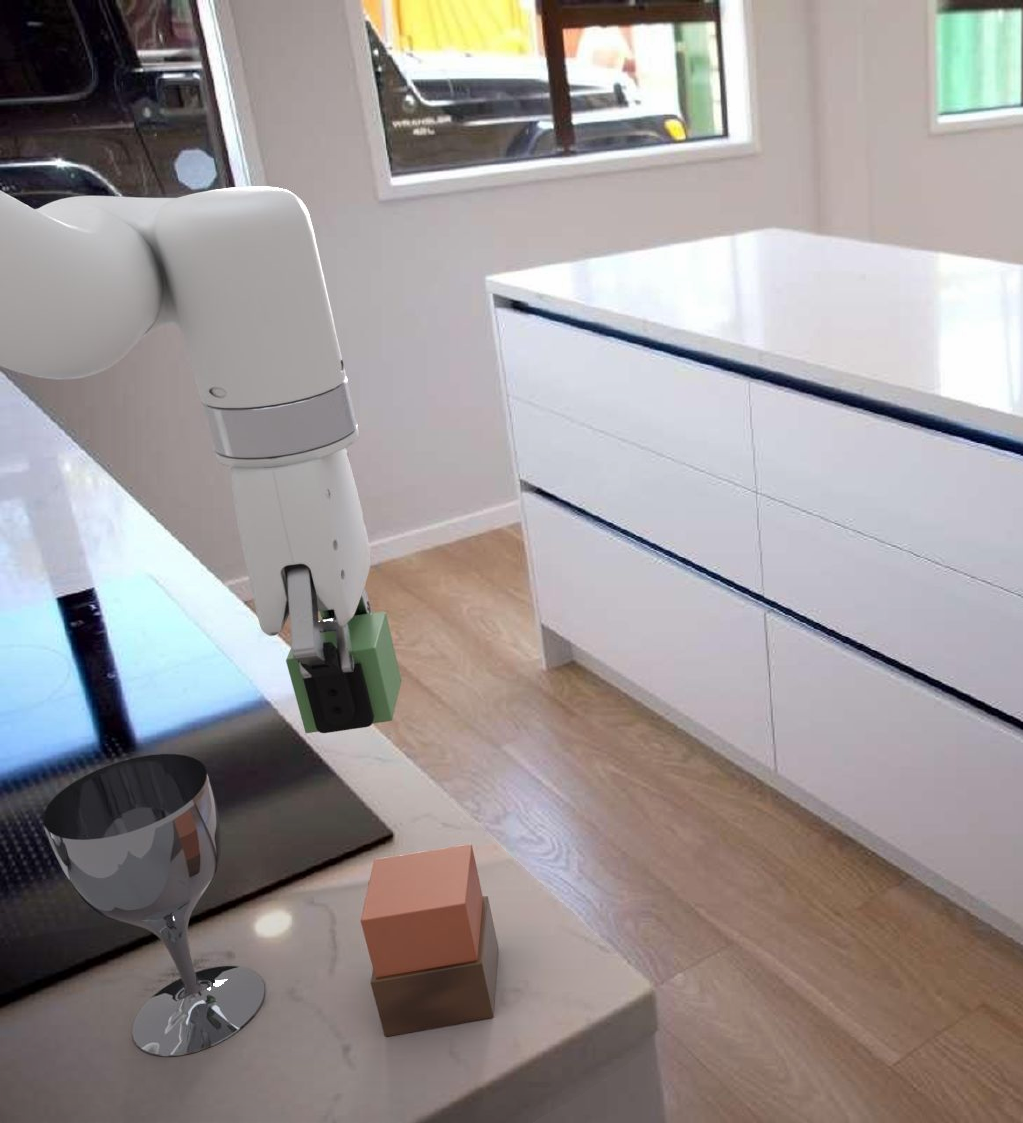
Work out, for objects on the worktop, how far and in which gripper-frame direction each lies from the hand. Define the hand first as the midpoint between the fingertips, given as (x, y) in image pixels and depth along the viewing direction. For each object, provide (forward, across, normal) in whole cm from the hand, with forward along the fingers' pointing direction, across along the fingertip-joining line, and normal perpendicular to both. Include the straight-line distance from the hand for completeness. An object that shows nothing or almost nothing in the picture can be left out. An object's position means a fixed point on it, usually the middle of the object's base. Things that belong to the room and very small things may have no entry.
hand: (353, 700), depth 78 cm
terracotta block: (+10, +11, +4) cm, 15 cm away
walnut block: (+14, +11, +4) cm, 18 cm away
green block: (0, 0, 0) cm, 0 cm away
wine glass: (+14, +9, -10) cm, 20 cm away
